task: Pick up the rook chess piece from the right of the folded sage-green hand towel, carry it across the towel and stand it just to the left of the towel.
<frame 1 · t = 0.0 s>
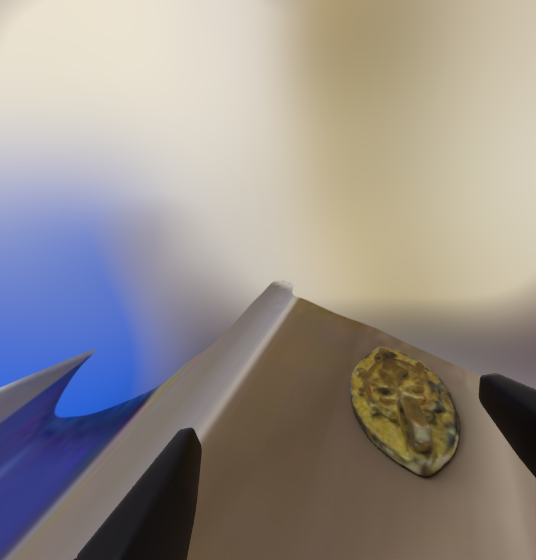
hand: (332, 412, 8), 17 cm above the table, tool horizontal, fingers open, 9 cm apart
seal: (398, 402, 27), on the table
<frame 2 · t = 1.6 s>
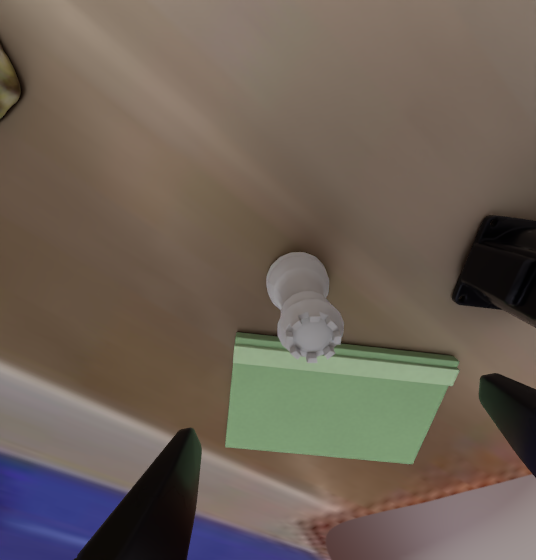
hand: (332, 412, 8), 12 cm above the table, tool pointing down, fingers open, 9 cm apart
rook chess piece: (296, 278, 20), on the table
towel: (331, 400, 24), on the table
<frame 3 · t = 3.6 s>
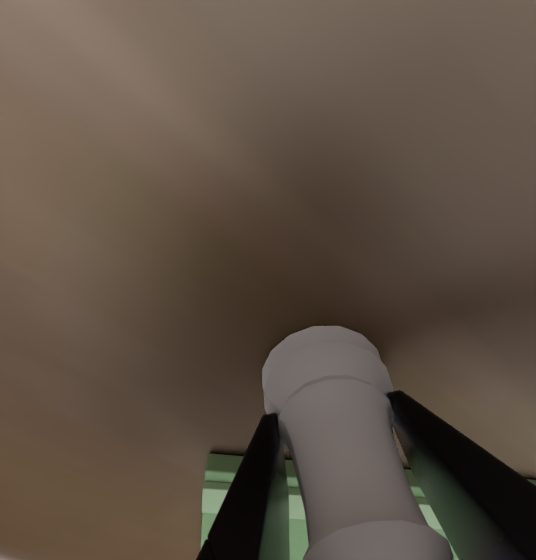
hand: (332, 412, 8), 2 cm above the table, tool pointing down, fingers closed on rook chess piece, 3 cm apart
rook chess piece: (318, 365, 10), on the table, touching gripper
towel: (371, 544, 14), on the table
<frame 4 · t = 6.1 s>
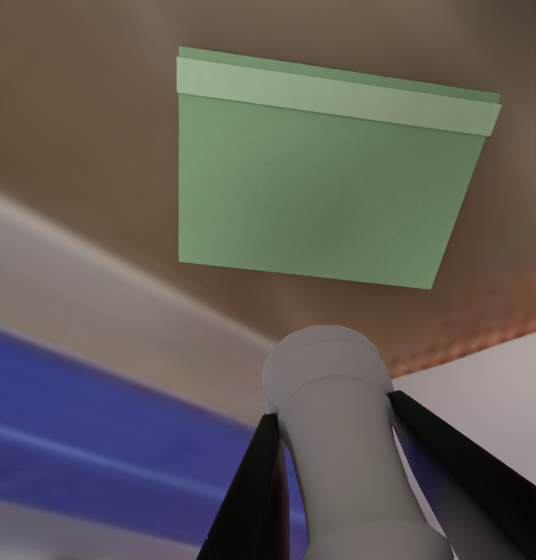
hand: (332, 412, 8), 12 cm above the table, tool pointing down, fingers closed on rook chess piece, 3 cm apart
rook chess piece: (318, 365, 10), point 10 cm above the table, touching gripper
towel: (321, 186, 17), on the table
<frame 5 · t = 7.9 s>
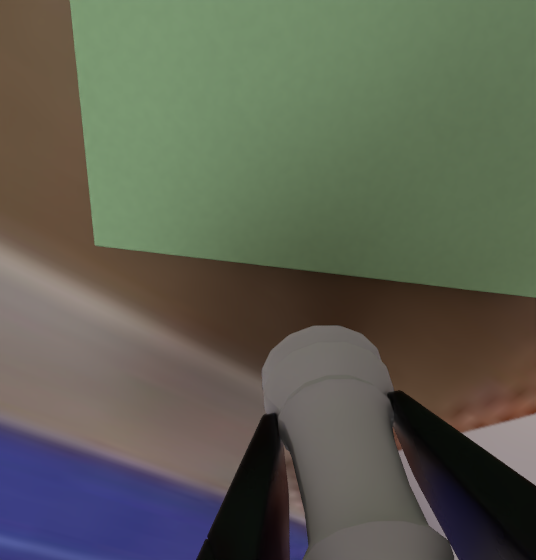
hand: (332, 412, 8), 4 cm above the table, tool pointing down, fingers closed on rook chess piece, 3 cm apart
rook chess piece: (318, 365, 10), point 2 cm above the table, touching gripper
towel: (358, 102, 9), on the table
when the fingers open (2 cm above the table, at t = 8.9 s): rook chess piece stays where it is, on the table.
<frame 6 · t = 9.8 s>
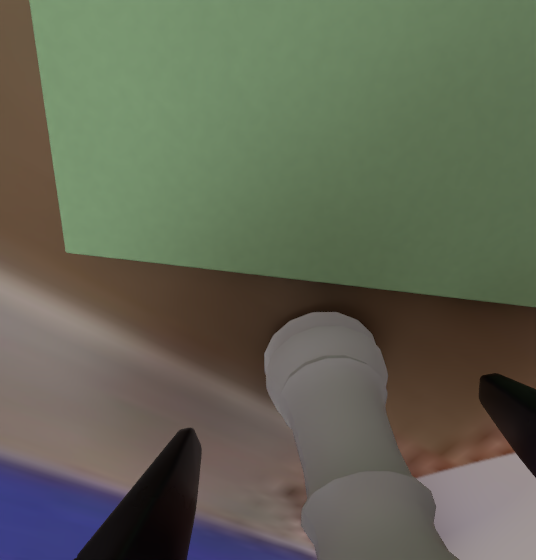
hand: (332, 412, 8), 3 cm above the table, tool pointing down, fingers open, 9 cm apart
rook chess piece: (317, 351, 11), on the table
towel: (381, 80, 7), on the table
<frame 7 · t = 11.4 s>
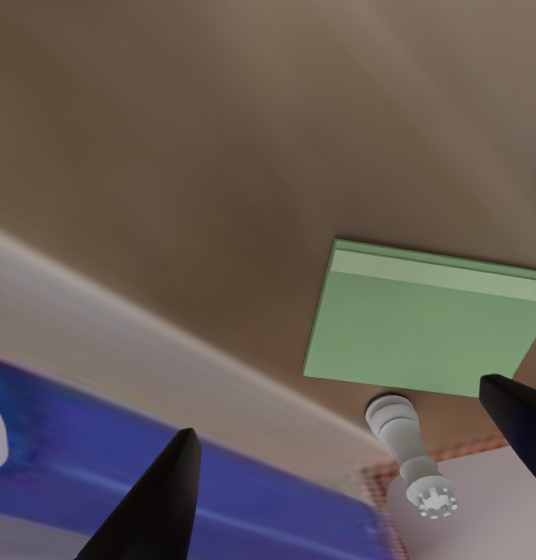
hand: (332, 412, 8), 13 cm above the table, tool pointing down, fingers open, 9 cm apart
rook chess piece: (386, 408, 25), on the table
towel: (422, 325, 22), on the table
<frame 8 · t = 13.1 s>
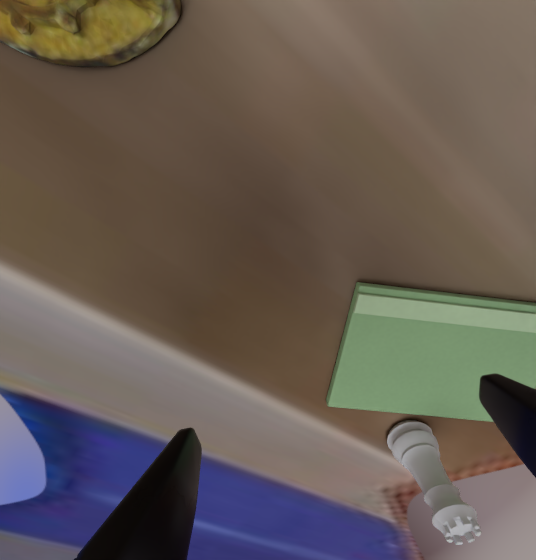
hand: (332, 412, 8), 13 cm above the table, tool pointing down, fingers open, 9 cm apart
rook chess piece: (406, 432, 27), on the table
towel: (439, 356, 23), on the table
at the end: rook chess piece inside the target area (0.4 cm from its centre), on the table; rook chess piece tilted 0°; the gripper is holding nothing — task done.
